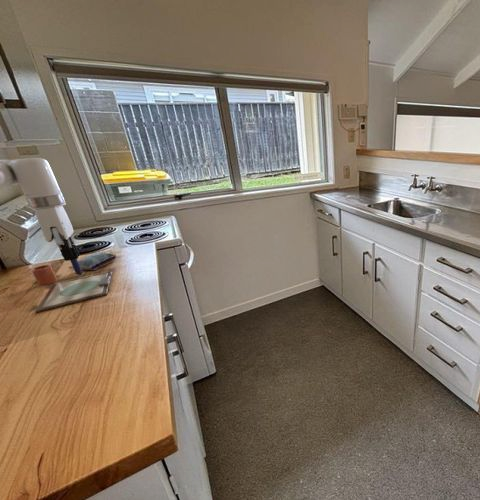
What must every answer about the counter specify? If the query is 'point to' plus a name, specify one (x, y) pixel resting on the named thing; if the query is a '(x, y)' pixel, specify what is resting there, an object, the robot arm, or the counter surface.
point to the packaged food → (95, 261)
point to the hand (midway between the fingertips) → (72, 258)
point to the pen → (76, 266)
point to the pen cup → (44, 274)
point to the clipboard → (75, 291)
